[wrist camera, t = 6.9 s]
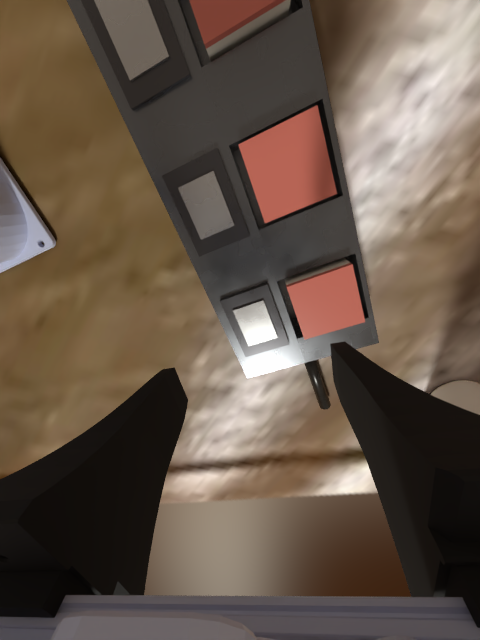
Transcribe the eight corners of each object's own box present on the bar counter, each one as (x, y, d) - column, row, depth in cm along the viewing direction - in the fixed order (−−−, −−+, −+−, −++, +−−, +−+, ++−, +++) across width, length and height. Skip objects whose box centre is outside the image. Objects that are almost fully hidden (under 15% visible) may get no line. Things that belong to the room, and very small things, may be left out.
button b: (264, 219, 17) (265, 223, 14) (242, 152, 15) (238, 144, 13) (325, 193, 16) (336, 193, 13) (307, 120, 14) (317, 105, 12)
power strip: (274, 412, 26) (275, 441, 23) (78, -18, 14) (24, -81, 10) (378, 387, 23) (395, 417, 20) (256, -156, 11) (254, -288, 8)
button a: (299, 321, 20) (304, 339, 17) (283, 274, 18) (286, 287, 16) (351, 305, 19) (365, 322, 16) (339, 254, 17) (352, 264, 15)
